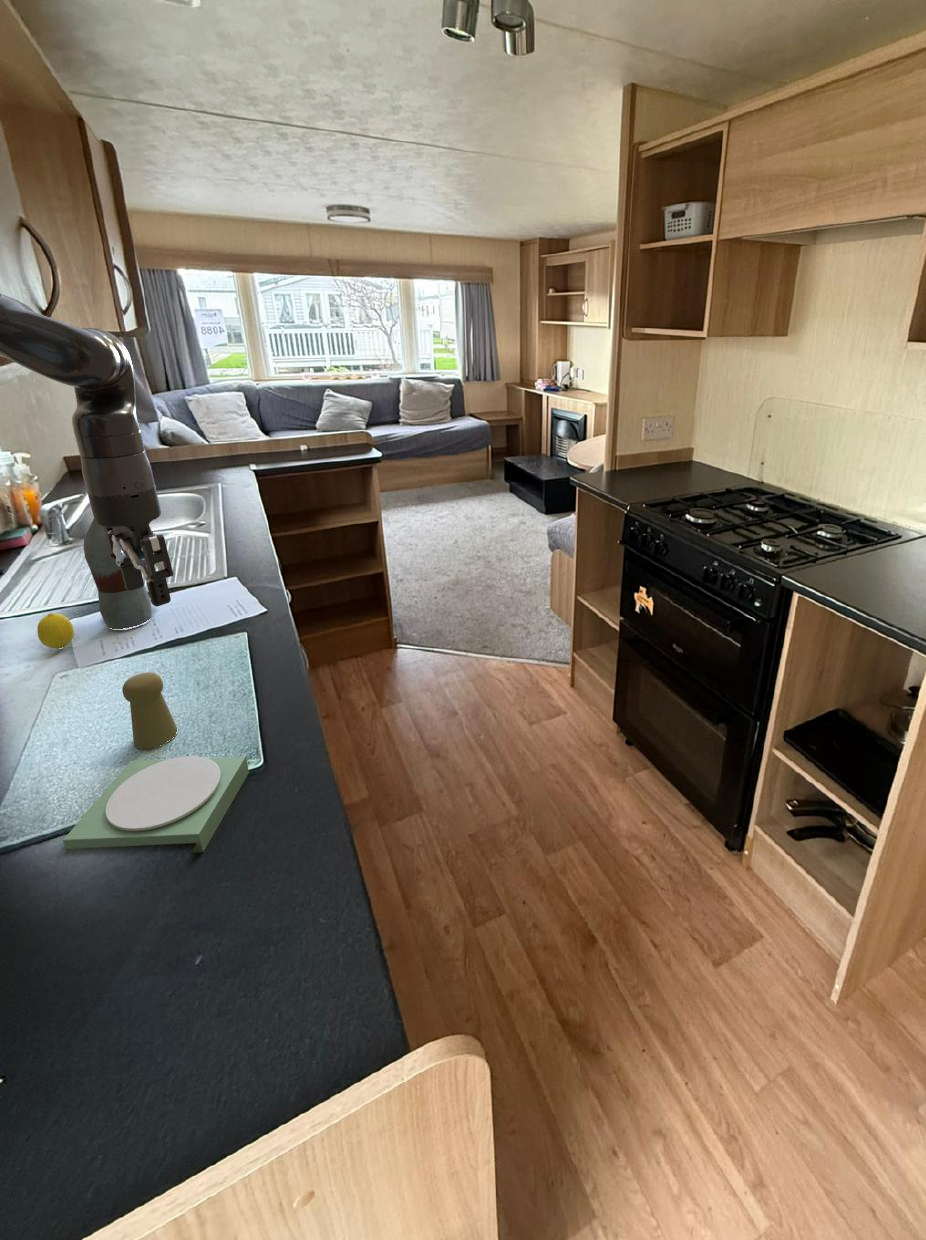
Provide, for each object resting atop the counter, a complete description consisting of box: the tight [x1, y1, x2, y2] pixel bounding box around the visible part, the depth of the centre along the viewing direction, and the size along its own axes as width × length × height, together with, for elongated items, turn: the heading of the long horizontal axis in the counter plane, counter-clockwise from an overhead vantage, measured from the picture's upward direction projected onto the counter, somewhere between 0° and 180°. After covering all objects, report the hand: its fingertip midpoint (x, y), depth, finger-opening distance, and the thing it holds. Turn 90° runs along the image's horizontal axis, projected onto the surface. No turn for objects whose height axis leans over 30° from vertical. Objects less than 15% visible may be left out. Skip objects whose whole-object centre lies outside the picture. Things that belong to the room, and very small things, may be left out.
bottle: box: [83, 518, 153, 629], centre depth 125 cm, size 9×9×30 cm
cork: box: [121, 671, 178, 751], centre depth 92 cm, size 6×6×11 cm
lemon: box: [36, 612, 75, 649], centre depth 118 cm, size 6×6×8 cm
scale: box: [62, 755, 250, 854], centre depth 79 cm, size 16×14×4 cm
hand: (148, 596), depth 85 cm, fingers open, 8 cm apart
